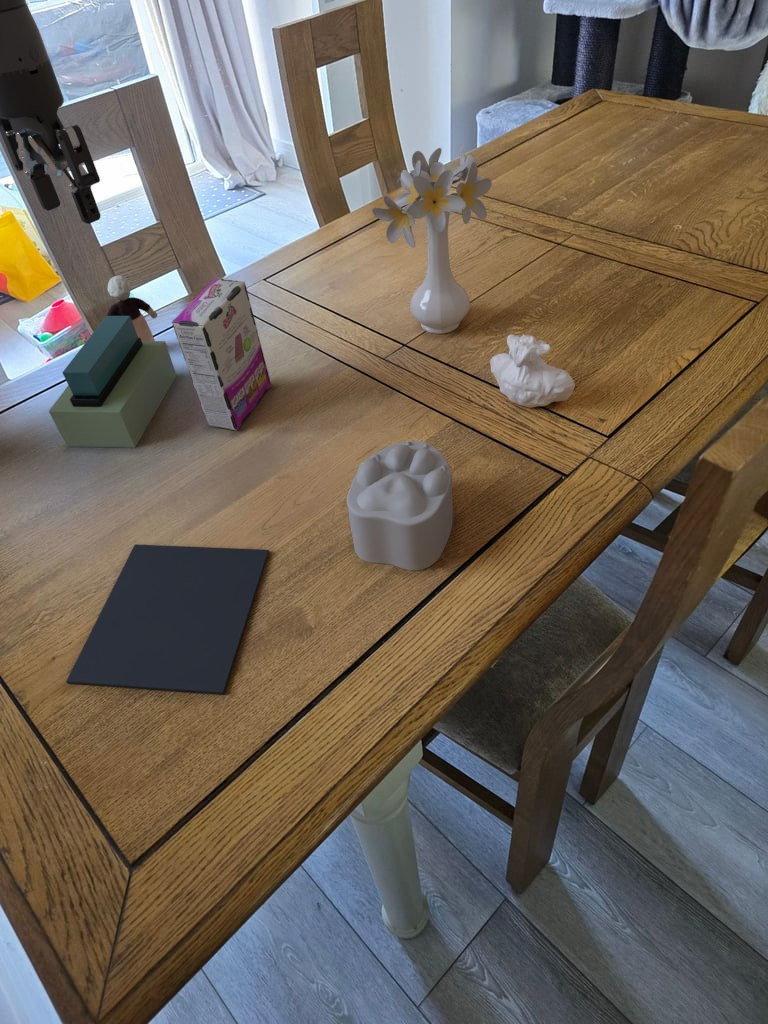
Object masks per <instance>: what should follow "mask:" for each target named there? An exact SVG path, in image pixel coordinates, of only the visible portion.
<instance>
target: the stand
mask: <svg viewBox="0 0 768 1024" xmlns="http://www.w3.org/2000/svg"><path fill="white" fill-rule="evenodd" d="M142 344H143V345H142V347H141V348H140V350H139V351H138V353H137V354H136V356H135V357H134V359H133V360H132V362H131V363H130V365H129V366H128V368H127V369H126V371H125V372H124V374H123V375H122V376H121V378H120V379H119V381H118V382H117V384H116V385H115V387H114V388H113V390H112V391H111V393H110V394H109V396H108V397H107V399H106V400H105V402H104V403H103V405H102V406H101V407H73V405H72V403H71V401H70V398H71V397H72V395H73V394H72V392H71V389H70V387H69V385H68V384H67V386H66V388H65V389H64V390H63V392H62V393H61V394H60V396H59V397H58V398H57V400H56V401H55V402H54V404H53V405H52V406H51V407H50V409H49V410H48V413H49V415H50V417H51V419H52V420H53V423H54V424H55V426H56V429H57V431H58V432H59V434H60V436H61V438H62V440H63V442H64V443H65V445H66V447H71V448H72V447H73V448H74V447H75V448H76V447H77V448H80V447H82V448H127V449H129V448H130V449H132V448H133V449H135V448H136V447H137V446H138V444H139V443H140V440H141V439H142V437H143V436H144V433H145V432H146V430H147V428H148V427H149V425H150V424H151V421H152V419H154V416H155V414H156V413H157V411H158V409H159V408H160V406H161V404H162V402H163V400H164V399H165V398H166V395H167V394H168V392H169V390H170V389H171V386H173V385H172V384H173V383H174V381H175V380H176V378H177V372H176V369H175V365H174V364H173V360H172V358H171V355H170V352H169V349H168V347H167V343H166V340H165V341H164V340H155V341H142Z"/></svg>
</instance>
